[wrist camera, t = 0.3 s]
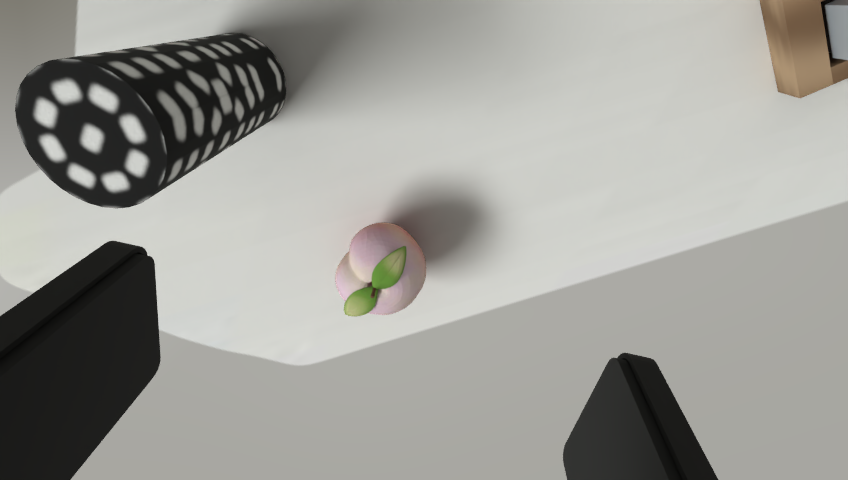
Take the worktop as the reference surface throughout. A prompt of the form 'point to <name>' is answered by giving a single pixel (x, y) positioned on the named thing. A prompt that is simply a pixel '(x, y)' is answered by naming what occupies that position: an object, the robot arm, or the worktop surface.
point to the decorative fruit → (380, 271)
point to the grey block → (838, 27)
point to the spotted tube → (145, 113)
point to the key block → (800, 47)
